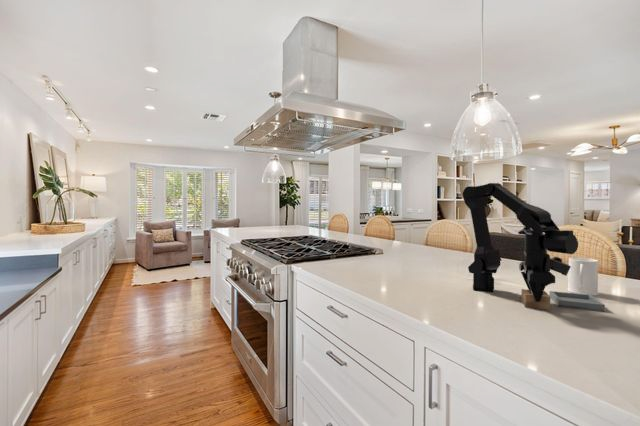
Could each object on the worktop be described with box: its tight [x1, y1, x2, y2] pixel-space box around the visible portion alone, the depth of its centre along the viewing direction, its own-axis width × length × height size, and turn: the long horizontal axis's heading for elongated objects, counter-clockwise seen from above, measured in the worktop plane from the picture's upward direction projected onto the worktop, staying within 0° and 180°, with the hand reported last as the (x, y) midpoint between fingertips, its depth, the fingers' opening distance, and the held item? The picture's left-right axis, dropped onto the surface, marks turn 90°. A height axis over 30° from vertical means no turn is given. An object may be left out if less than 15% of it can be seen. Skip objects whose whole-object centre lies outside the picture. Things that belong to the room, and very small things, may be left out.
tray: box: [548, 290, 606, 312], centre depth 98 cm, size 11×11×2 cm
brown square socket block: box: [521, 288, 551, 311], centre depth 97 cm, size 6×6×4 cm
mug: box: [567, 257, 600, 297], centre depth 109 cm, size 12×8×12 cm
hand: (535, 298), depth 97 cm, fingers closed on brown square socket block, 6 cm apart
